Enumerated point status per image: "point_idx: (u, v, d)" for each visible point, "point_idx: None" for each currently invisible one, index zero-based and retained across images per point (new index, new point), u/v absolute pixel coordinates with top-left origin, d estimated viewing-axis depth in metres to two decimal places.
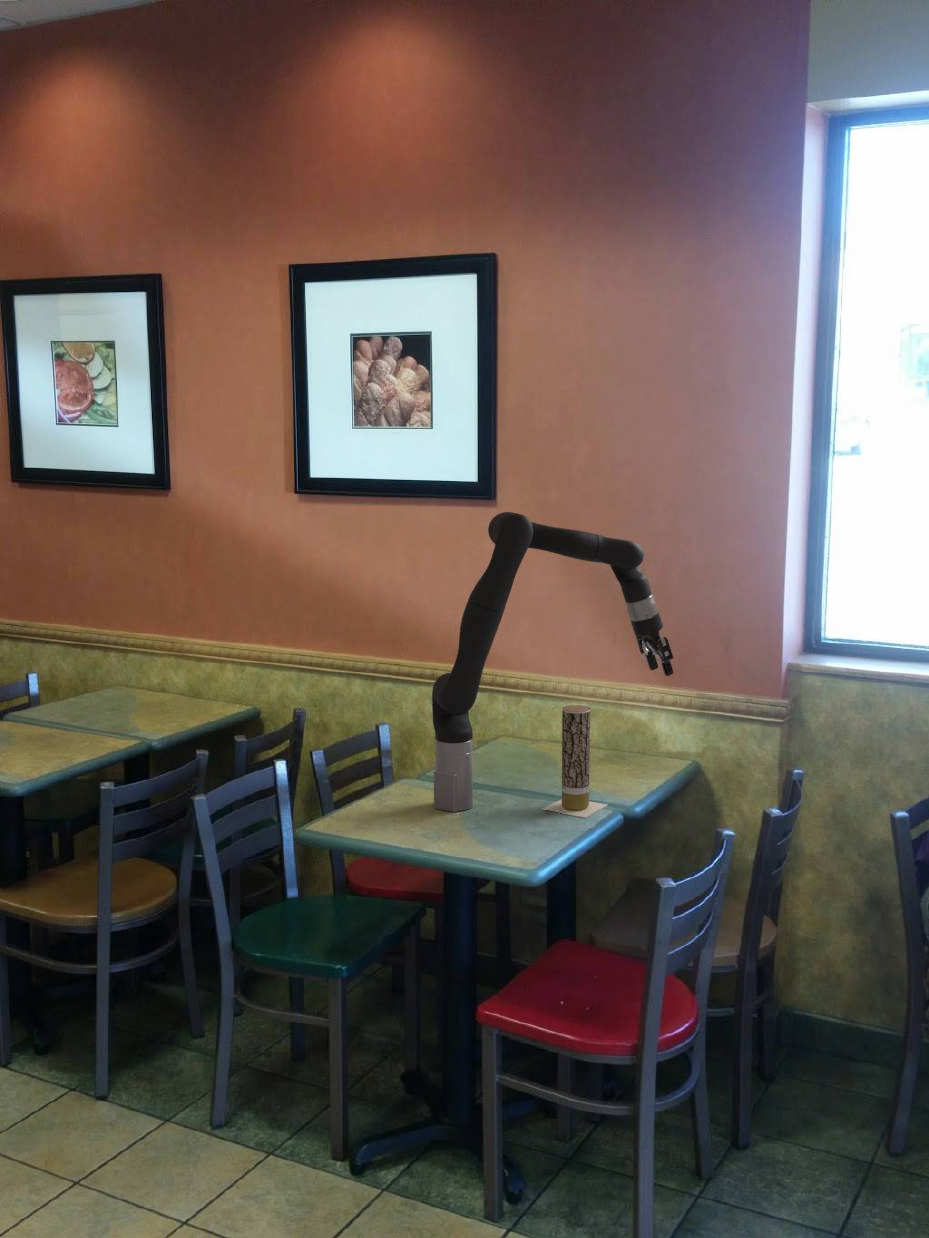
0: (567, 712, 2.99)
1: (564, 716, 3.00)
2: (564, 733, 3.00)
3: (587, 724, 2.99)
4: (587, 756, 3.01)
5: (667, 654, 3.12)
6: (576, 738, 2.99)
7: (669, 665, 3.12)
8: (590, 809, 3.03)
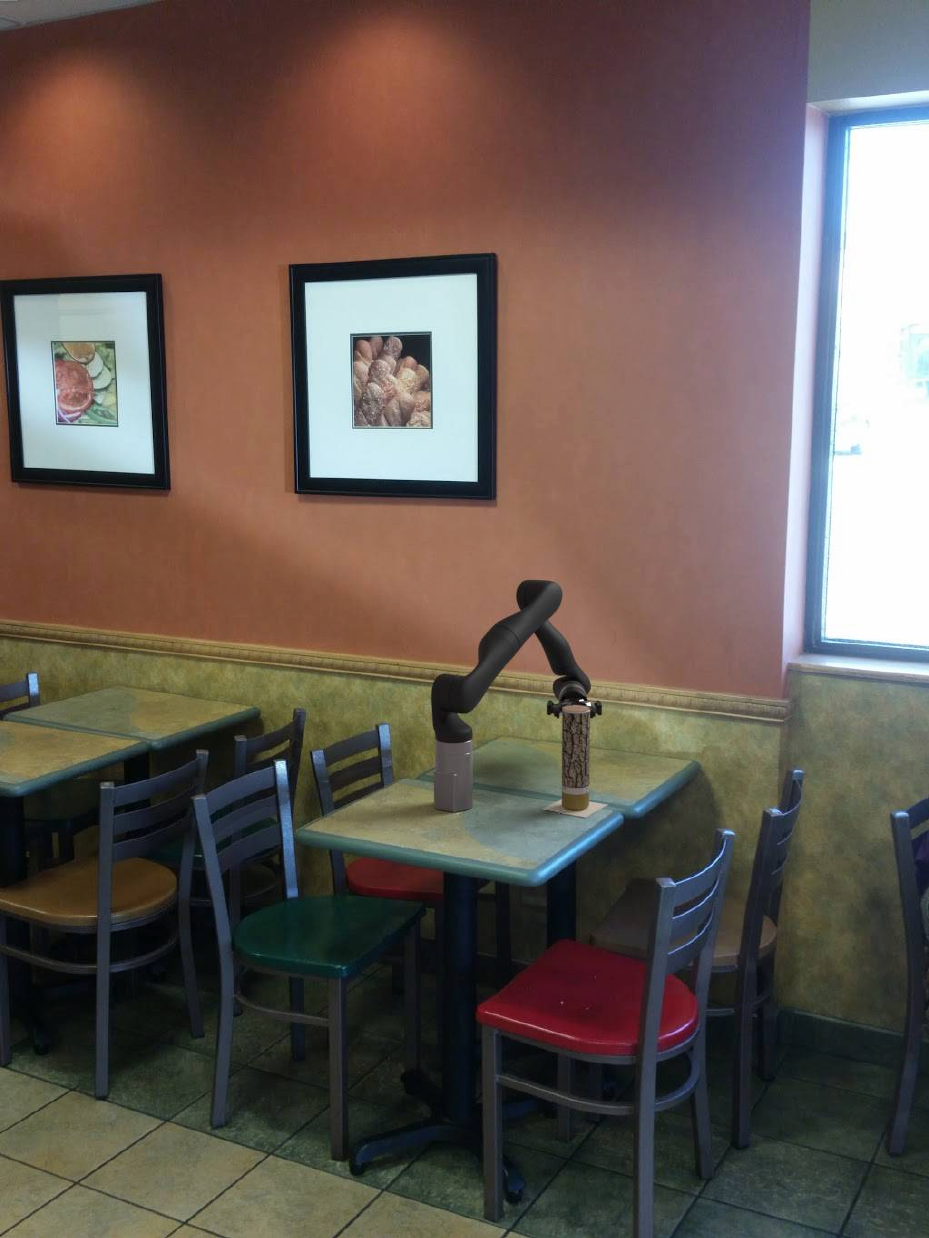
0: (567, 712, 2.99)
1: (564, 716, 3.00)
2: (564, 733, 3.00)
3: (587, 724, 2.99)
4: (587, 756, 3.01)
5: None
6: (576, 738, 2.99)
7: None
8: (590, 809, 3.03)
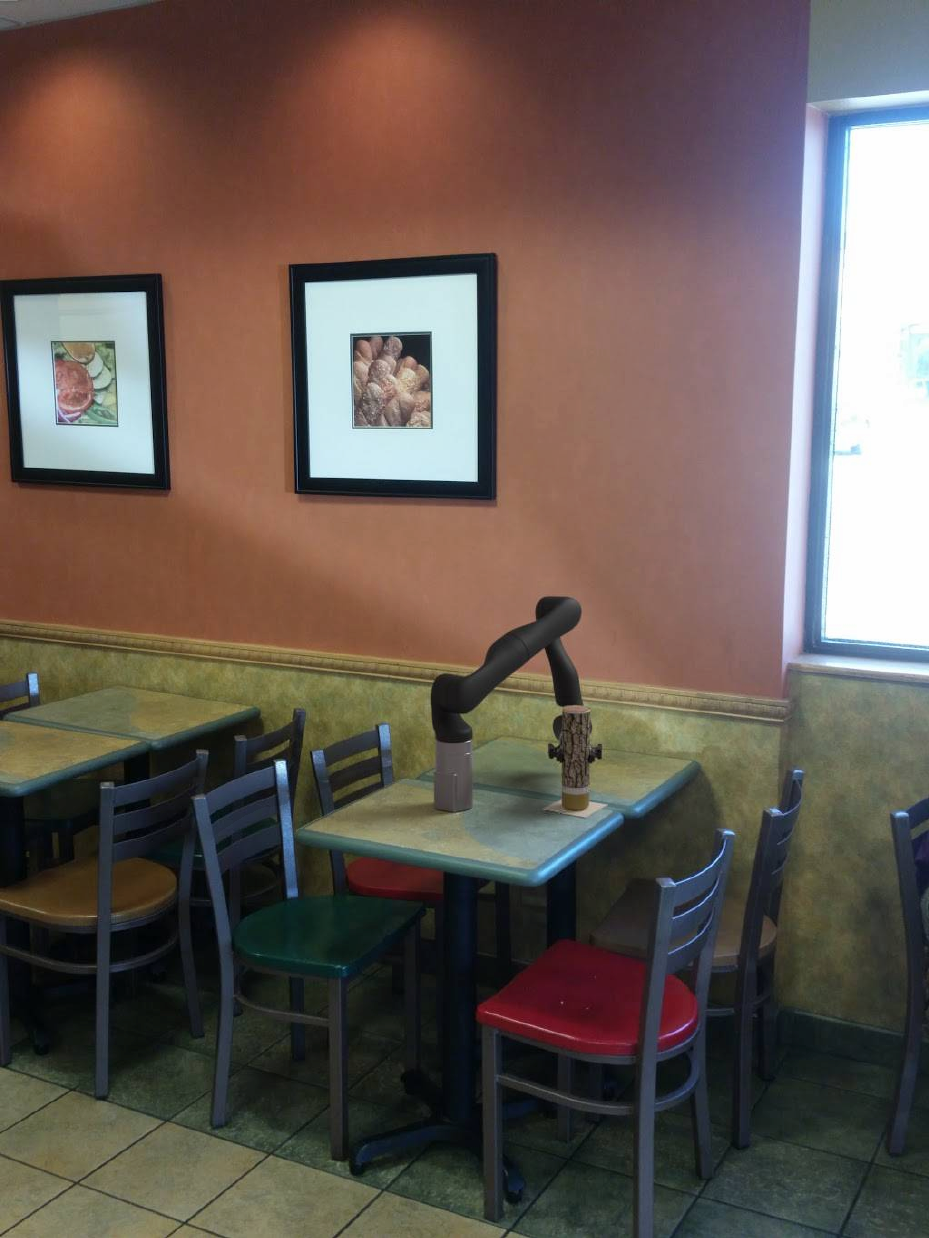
0: (567, 712, 2.99)
1: (564, 716, 3.00)
2: (564, 733, 3.00)
3: (587, 724, 2.99)
4: (587, 756, 3.00)
5: None
6: (576, 738, 2.99)
7: None
8: (590, 809, 3.03)
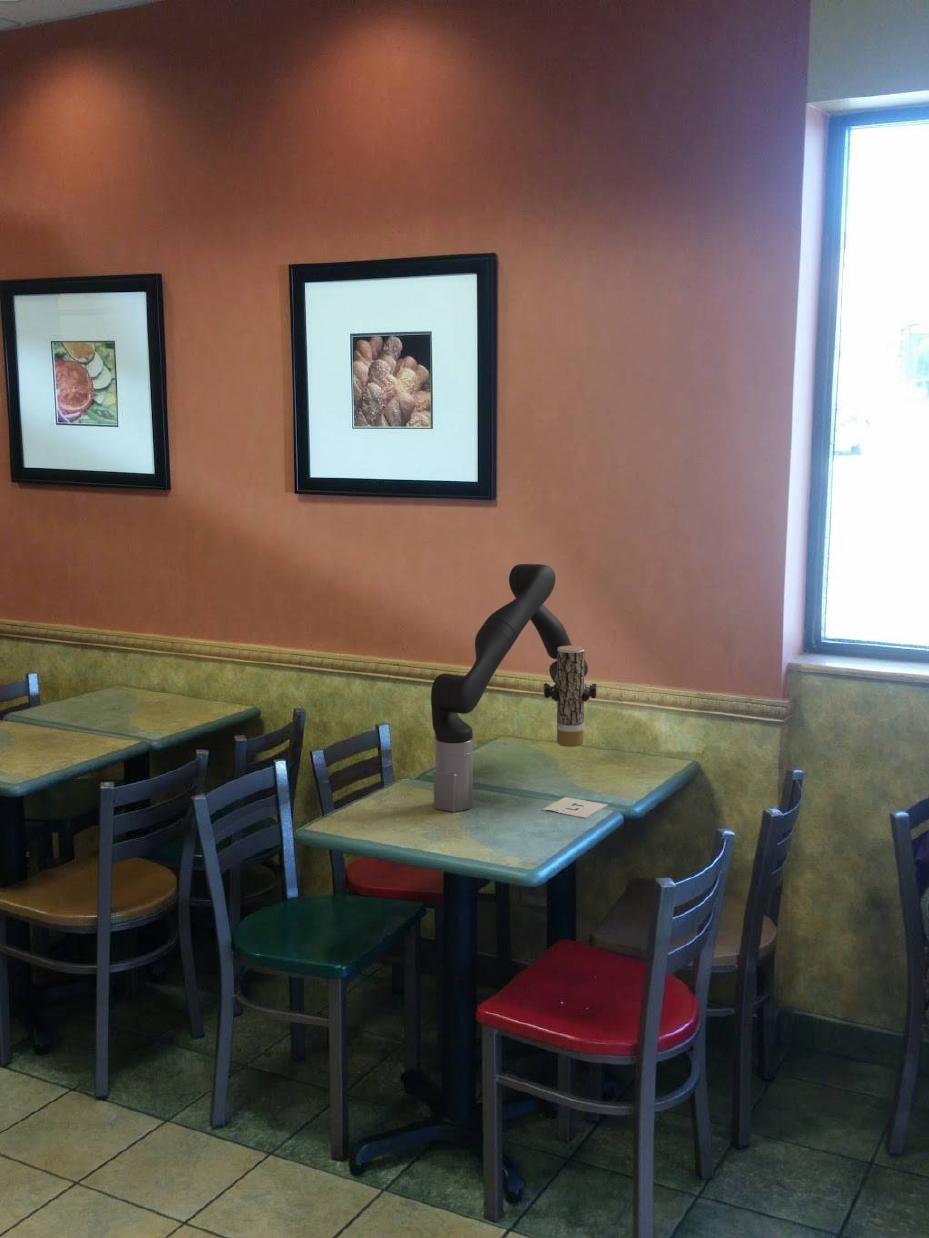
0: (562, 652, 3.08)
1: (559, 656, 3.09)
2: (559, 672, 3.10)
3: (581, 663, 3.09)
4: (581, 694, 3.10)
5: None
6: (571, 677, 3.08)
7: None
8: (590, 809, 3.03)
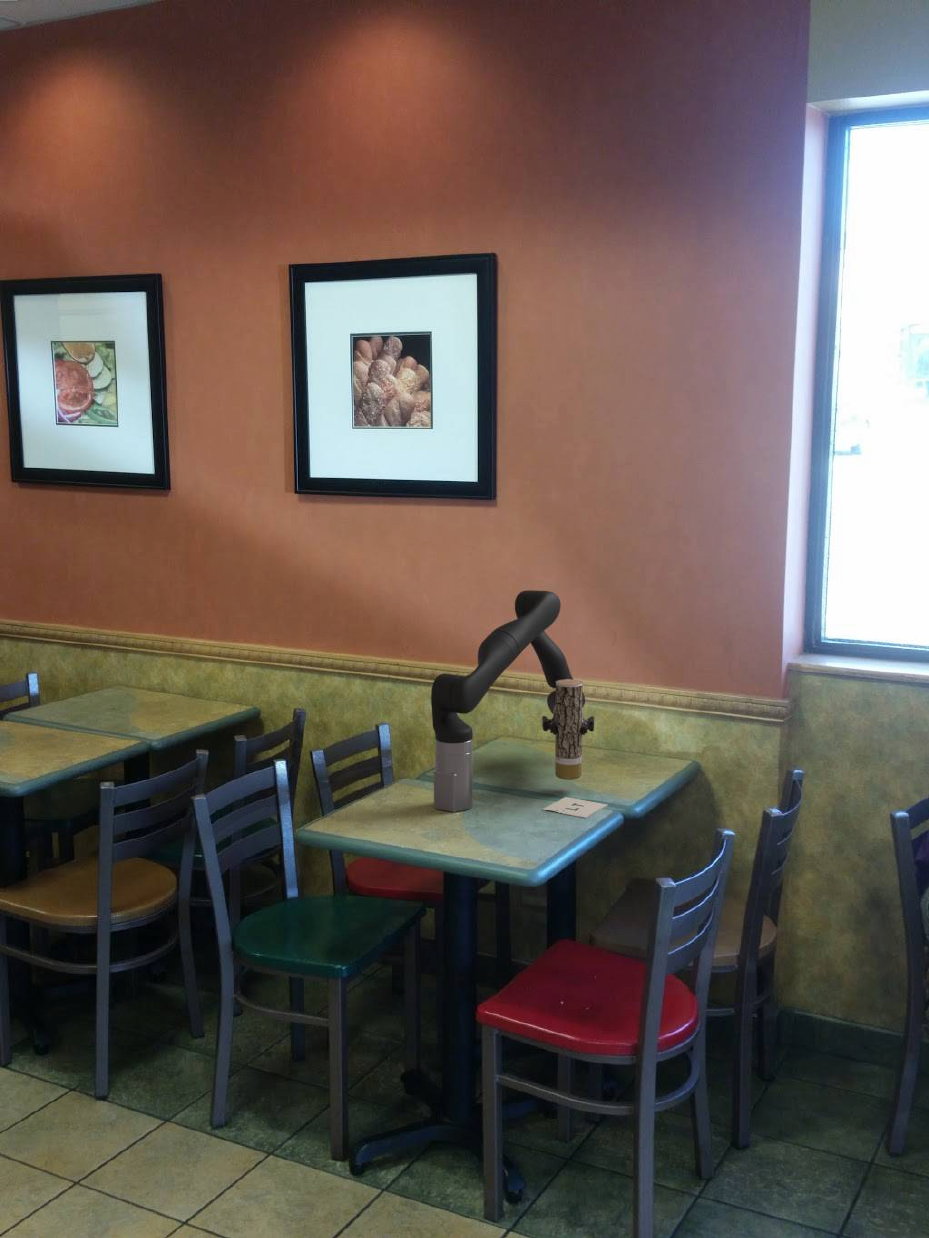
0: (560, 686, 3.11)
1: (557, 690, 3.12)
2: (557, 706, 3.13)
3: (579, 697, 3.12)
4: (579, 728, 3.13)
5: None
6: (569, 711, 3.11)
7: None
8: (590, 809, 3.03)
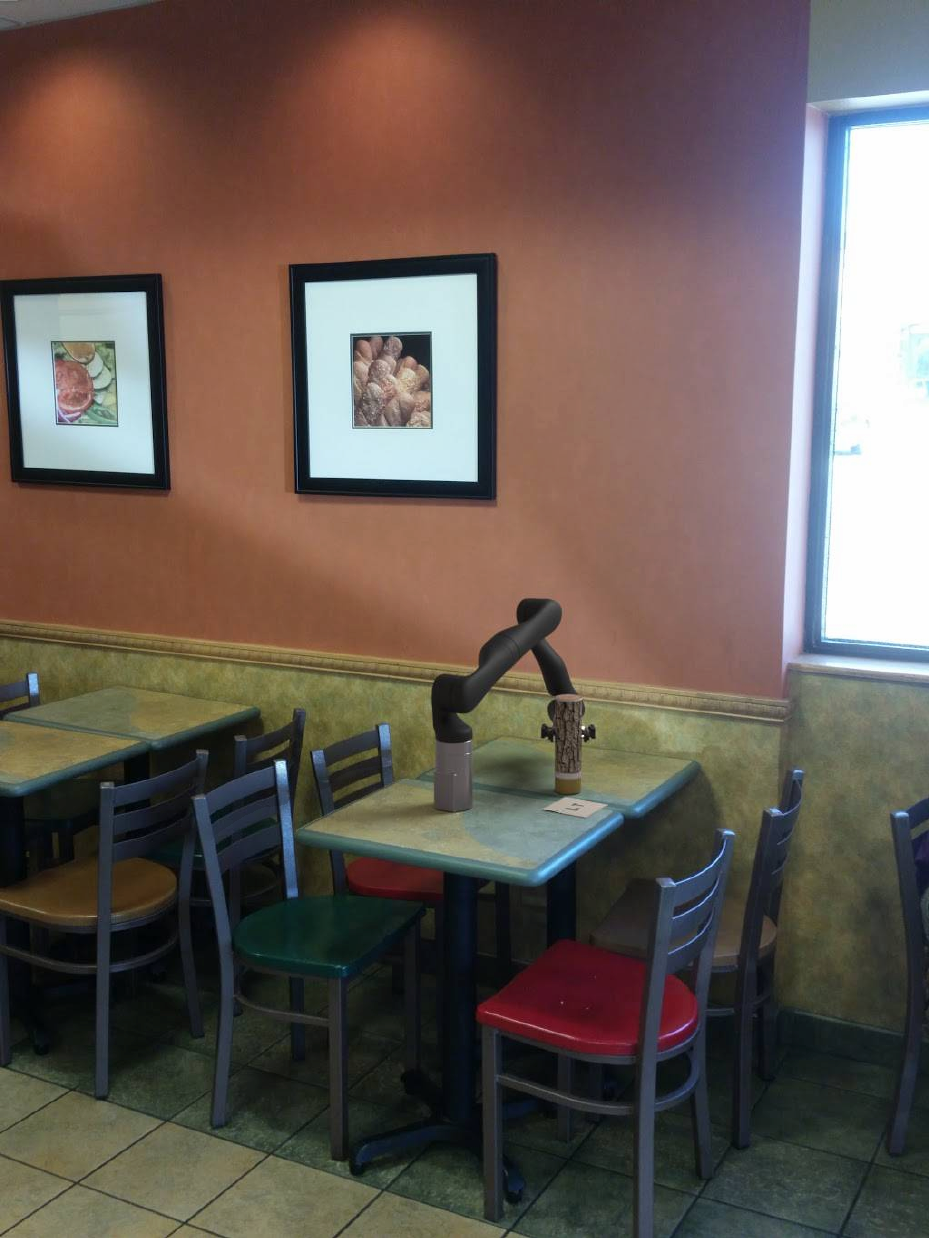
0: (560, 700, 3.12)
1: (557, 704, 3.13)
2: (557, 721, 3.14)
3: (579, 712, 3.13)
4: (579, 742, 3.14)
5: None
6: (569, 726, 3.12)
7: None
8: (590, 809, 3.03)
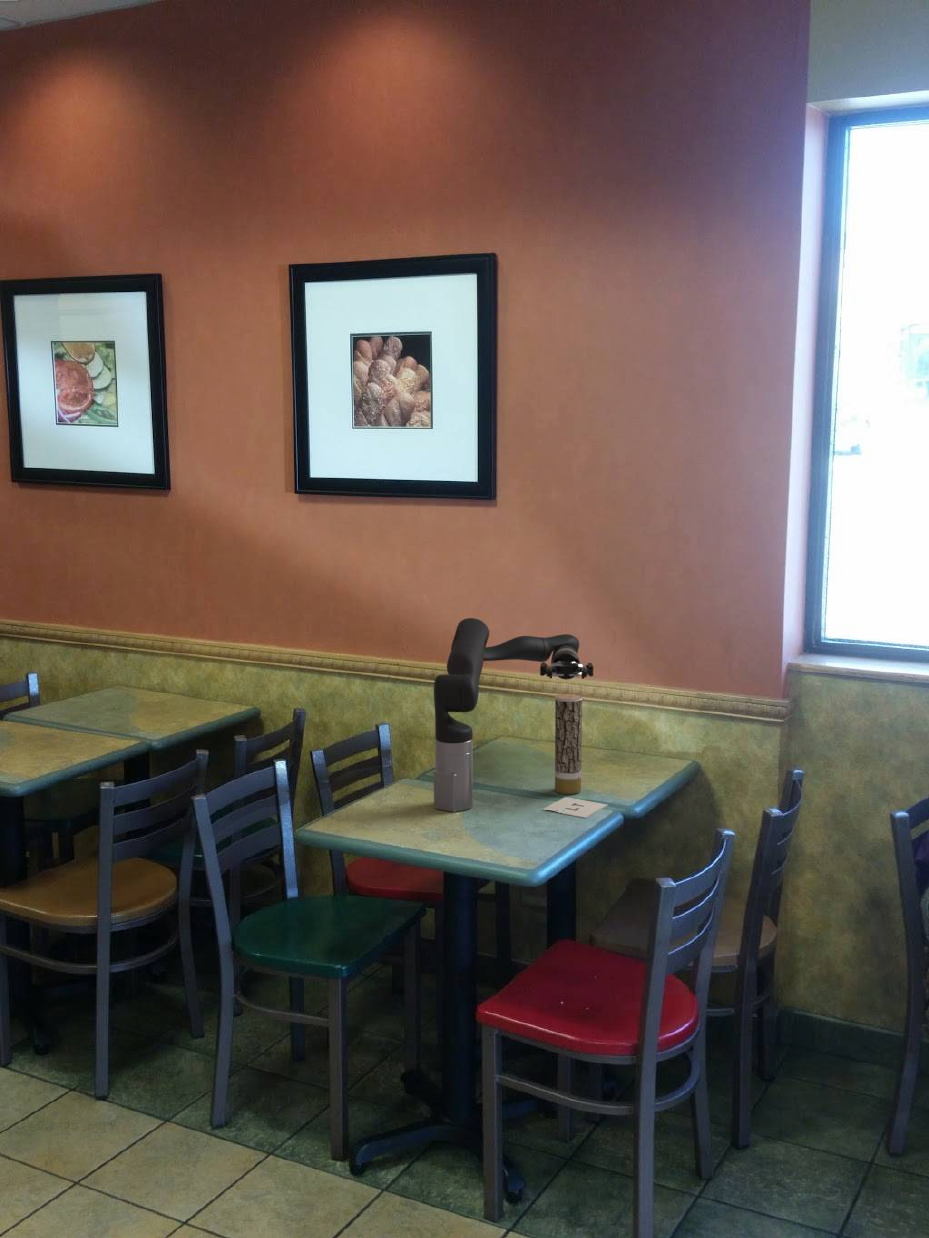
0: (560, 700, 3.12)
1: (557, 704, 3.13)
2: (557, 721, 3.14)
3: (579, 712, 3.13)
4: (579, 742, 3.14)
5: None
6: (568, 726, 3.12)
7: None
8: (590, 809, 3.03)
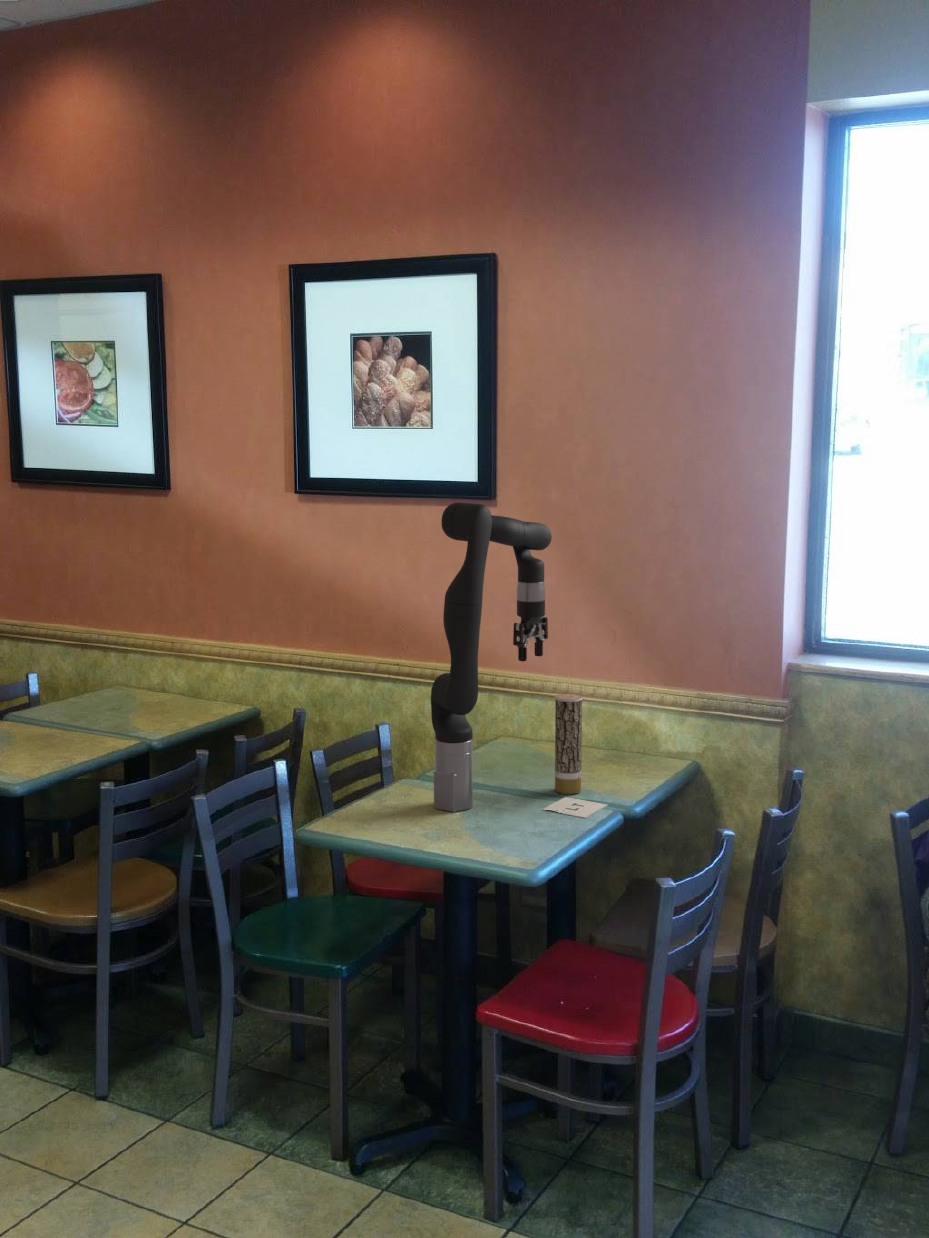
0: (560, 700, 3.12)
1: (557, 704, 3.13)
2: (557, 721, 3.14)
3: (579, 712, 3.13)
4: (579, 742, 3.14)
5: (536, 635, 3.32)
6: (569, 726, 3.12)
7: None
8: (590, 809, 3.03)
